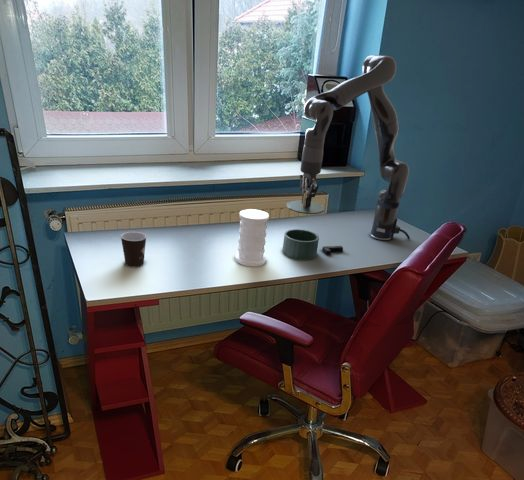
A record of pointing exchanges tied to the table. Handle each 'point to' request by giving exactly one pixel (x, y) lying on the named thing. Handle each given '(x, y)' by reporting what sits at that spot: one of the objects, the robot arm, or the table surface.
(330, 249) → the hex key
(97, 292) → the table surface
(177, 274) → the table surface
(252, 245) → the decorative container
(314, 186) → the robot arm
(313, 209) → the tin lid
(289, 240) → the tin
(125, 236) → the coffee mug
